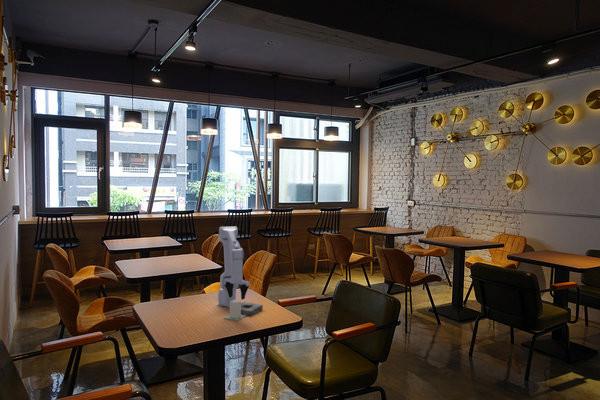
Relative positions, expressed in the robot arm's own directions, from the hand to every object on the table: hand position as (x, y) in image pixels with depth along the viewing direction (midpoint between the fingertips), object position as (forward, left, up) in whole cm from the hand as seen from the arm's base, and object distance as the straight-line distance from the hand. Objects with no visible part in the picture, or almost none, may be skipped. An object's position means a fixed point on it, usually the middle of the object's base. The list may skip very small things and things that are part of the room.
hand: (236, 298), depth 207 cm
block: (+1, -2, -9) cm, 9 cm away
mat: (+1, -3, -9) cm, 10 cm away
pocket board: (+1, +9, -9) cm, 13 cm away
